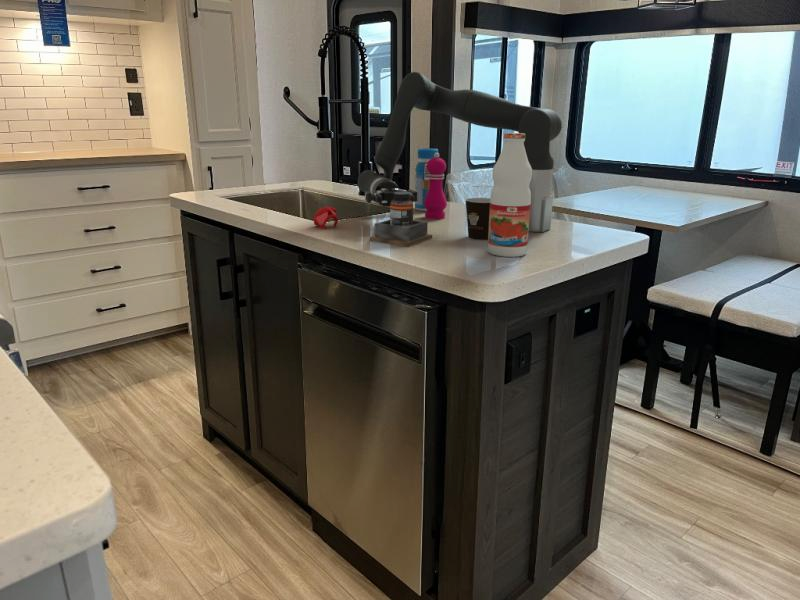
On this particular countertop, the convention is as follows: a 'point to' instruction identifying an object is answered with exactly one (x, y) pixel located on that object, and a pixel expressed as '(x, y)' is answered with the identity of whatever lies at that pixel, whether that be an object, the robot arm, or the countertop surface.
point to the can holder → (401, 233)
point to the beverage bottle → (423, 176)
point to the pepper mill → (435, 189)
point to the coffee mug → (478, 218)
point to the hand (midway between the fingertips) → (396, 200)
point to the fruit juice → (510, 199)
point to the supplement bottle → (401, 210)
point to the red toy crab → (325, 216)
